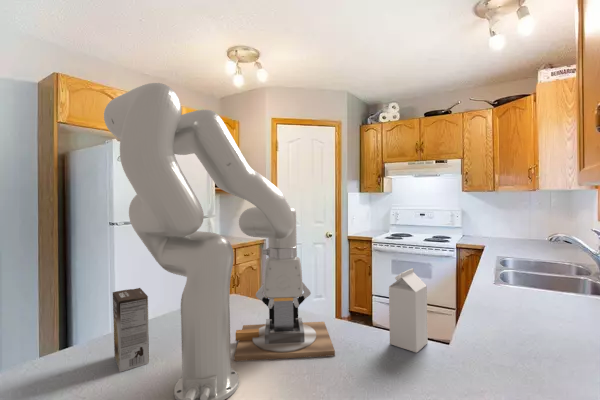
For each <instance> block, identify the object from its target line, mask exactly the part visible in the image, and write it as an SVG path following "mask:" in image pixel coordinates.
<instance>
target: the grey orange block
mask: <svg viewBox="0 0 600 400" xmlns="http://www.w3.org/2000/svg"><path fill="white" fill-rule="evenodd" d="M293 303H294V302H293V298H274V332H289V331H294V320H293Z"/></svg>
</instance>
